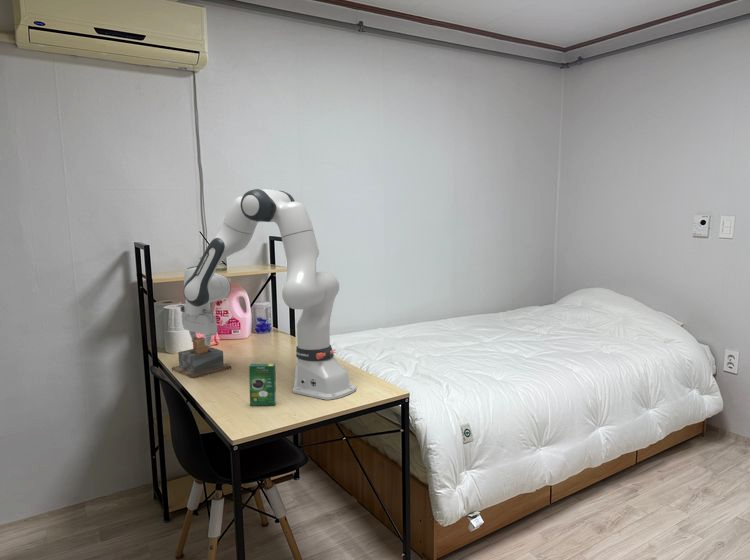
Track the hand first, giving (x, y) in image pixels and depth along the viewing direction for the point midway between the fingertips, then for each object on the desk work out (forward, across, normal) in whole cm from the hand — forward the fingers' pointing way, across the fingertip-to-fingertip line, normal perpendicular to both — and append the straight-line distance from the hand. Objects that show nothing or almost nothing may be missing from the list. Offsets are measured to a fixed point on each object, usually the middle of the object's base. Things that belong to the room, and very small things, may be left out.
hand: (200, 343), depth 199 cm
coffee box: (+11, -48, +6) cm, 50 cm away
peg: (+8, 0, 0) cm, 8 cm away
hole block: (+10, 0, 0) cm, 10 cm away
